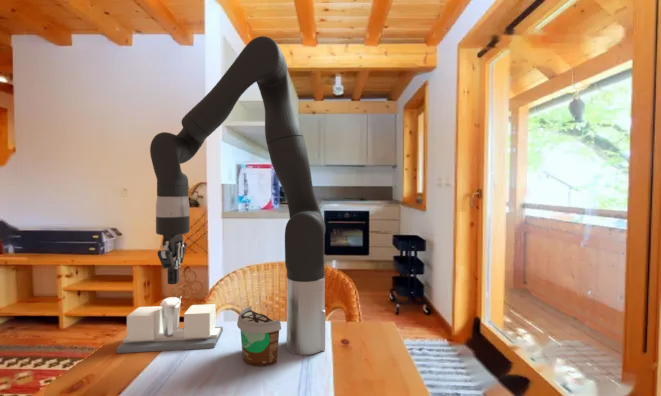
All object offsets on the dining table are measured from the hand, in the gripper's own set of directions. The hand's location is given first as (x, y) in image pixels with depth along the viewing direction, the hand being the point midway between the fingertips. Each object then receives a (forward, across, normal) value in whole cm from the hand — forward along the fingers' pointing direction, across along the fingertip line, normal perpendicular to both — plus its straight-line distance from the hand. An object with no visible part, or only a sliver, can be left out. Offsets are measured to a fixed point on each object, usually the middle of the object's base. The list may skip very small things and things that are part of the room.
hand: (173, 283), depth 78 cm
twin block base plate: (+15, 0, 0) cm, 15 cm away
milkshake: (+13, -1, 0) cm, 13 cm away
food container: (+15, -11, -21) cm, 28 cm away
